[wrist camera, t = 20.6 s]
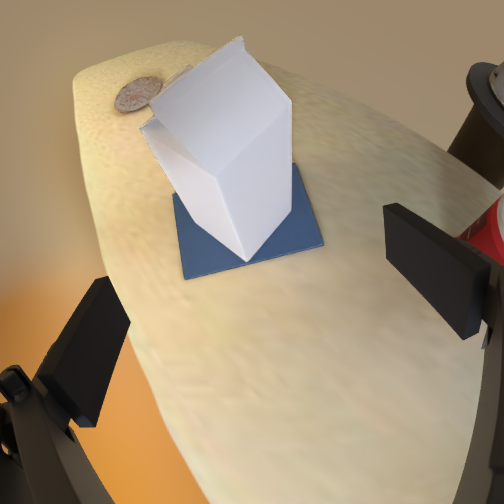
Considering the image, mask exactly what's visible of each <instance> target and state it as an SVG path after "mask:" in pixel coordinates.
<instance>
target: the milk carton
mask: <svg viewBox="0 0 504 504" xmlns="http://www.w3.org/2000/svg"><path fill="white" fill-rule="evenodd" d="M163 86H164V87H165V89H163V90H162V91H161V92H160V93H159V94H157V95H156V96H155V97H154V98H153V99H151V100H150V101H149V103H148V104H149V106H150V108H151V110H152V112H153V114H154V115H153V116H152V117H151V118H150V119H149V120H148V121H147V122H146V123H145V124H143V125H142V126H141V127H140V128H139V130H140V131H141V133H142V135H143V137H144V138H145V140H146V142H147V143H148V145H149V147H150V149H151V150H152V152H153V154H154V155H155V157H156V159H157V160H158V162H159V164H160V166H161V167H162V169H163V171H164V172H165V174H166V176H167V177H168V179H169V181H170V182H171V184H172V186H173V187H174V189H175V191H176V192H177V194H178V196H179V197H180V199H181V201H182V202H183V204H184V205H185V207H186V209H187V210H188V212H189V214H190V215H191V217H192V219H193V220H194V222H195V223H196V224H198V225H199V226H200V227H201V228H203V229H204V230H205V231H207V232H208V233H209V234H210V235H212V236H213V237H214V238H216V239H217V240H218V241H220V242H221V243H222V244H223V245H225V246H226V247H227V248H229V249H230V250H231V251H232V252H234V253H235V254H236V255H238V256H239V257H240V258H242V259H243V260H244V261H246V262H248V261H249V260H250V259H251V258H252V256H253V255H254V254H255V253H256V252H257V251H258V249H259V248H260V247H261V246H262V245H263V244H264V242H265V241H266V240H267V239H268V238H269V236H270V235H271V234H272V233H273V232H274V231H275V229H276V228H277V227H278V226H279V225H280V223H281V222H282V221H283V220H284V219H285V218H286V216H287V215H288V214H289V213H290V211H291V206H292V101H291V100H290V99H289V97H288V96H287V95H286V94H285V93H284V92H283V90H282V89H281V88H280V87H279V86H278V85H277V83H276V82H275V81H274V80H273V79H272V78H271V77H270V76H269V74H268V73H267V72H266V71H265V70H264V69H263V68H262V67H261V66H260V64H259V63H258V62H257V61H256V60H255V59H254V58H253V57H252V56H251V55H250V54H249V53H248V52H247V51H246V50H245V46H244V40H243V36H242V35H239V36H238V37H236V38H234V39H233V40H231V41H230V42H228V43H227V44H225V45H224V46H222V47H221V48H219V49H218V50H216V51H215V52H213V53H212V54H210V55H209V56H207V57H206V58H204V59H203V60H202V61H200V62H199V63H197V64H196V65H195V66H193V67H192V65H187V66H186V67H185V68H183V69H182V70H180V71H179V72H178V73H176V74H175V75H174V76H173V77H171V78H170V79H169V80H168V81H167V82H165V83H164V85H163Z"/></svg>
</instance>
